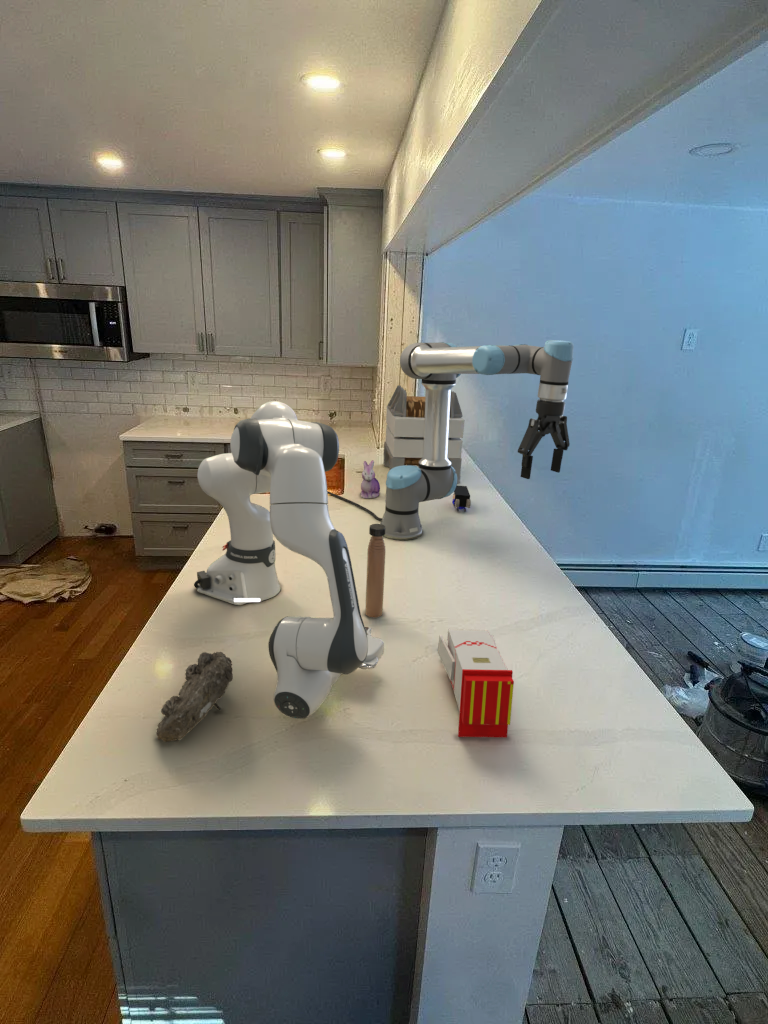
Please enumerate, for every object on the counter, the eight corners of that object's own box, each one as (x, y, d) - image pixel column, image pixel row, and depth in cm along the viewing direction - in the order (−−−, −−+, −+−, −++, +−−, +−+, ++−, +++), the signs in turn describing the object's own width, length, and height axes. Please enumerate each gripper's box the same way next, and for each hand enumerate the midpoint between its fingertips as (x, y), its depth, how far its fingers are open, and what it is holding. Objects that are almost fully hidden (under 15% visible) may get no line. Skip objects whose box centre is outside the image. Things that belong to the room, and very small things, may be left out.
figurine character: (470, 516, 223) (465, 500, 237) (473, 499, 220) (467, 484, 233) (453, 516, 223) (449, 500, 236) (455, 498, 220) (451, 483, 233)
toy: (488, 613, 130) (523, 677, 101) (484, 667, 133) (517, 744, 104) (435, 612, 130) (455, 676, 101) (432, 666, 133) (451, 743, 103)
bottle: (384, 616, 146) (388, 530, 138) (367, 618, 145) (370, 532, 137) (379, 608, 150) (383, 524, 142) (363, 609, 149) (366, 525, 141)
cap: (387, 536, 139) (387, 529, 138) (371, 537, 138) (371, 529, 137) (382, 530, 142) (383, 523, 142) (367, 531, 141) (367, 524, 140)
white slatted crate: (382, 463, 289) (386, 382, 275) (445, 464, 293) (451, 384, 279) (390, 482, 257) (394, 392, 243) (460, 483, 261) (468, 394, 247)
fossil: (183, 653, 120) (233, 621, 115) (215, 683, 122) (265, 653, 117) (132, 735, 100) (190, 701, 95) (171, 768, 103) (229, 737, 98)
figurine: (365, 500, 232) (366, 464, 227) (354, 493, 241) (355, 458, 236) (385, 497, 237) (387, 463, 231) (374, 490, 245) (375, 457, 240)
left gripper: (373, 657, 113) (393, 622, 125) (280, 636, 118) (308, 605, 131) (372, 683, 115) (391, 647, 128) (281, 661, 121) (308, 628, 133)
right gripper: (533, 404, 144) (522, 484, 152) (590, 399, 159) (577, 471, 166) (510, 400, 150) (501, 477, 157) (567, 395, 165) (556, 465, 172)
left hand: (349, 625), depth 129 cm, fingers open, 8 cm apart
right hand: (540, 474), depth 162 cm, fingers open, 13 cm apart
